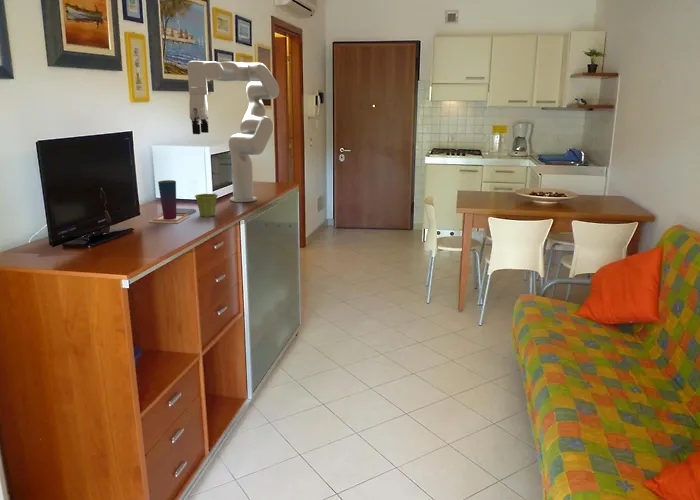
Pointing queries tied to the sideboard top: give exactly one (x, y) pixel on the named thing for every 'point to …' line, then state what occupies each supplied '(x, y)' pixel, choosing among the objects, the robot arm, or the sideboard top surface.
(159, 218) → the cream flat square piece
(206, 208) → the plant pot
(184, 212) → the ink pad
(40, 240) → the sideboard top surface
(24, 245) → the sideboard top surface
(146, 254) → the sideboard top surface
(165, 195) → the cup
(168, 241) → the sideboard top surface
